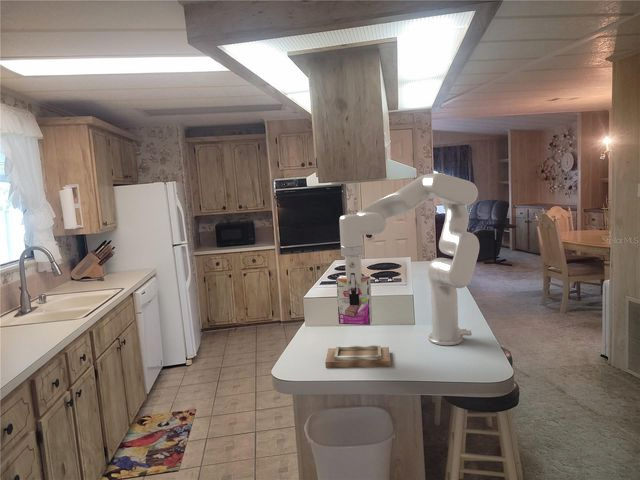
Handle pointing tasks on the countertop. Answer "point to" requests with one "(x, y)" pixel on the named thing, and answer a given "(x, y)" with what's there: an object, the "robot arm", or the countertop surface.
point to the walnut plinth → (358, 356)
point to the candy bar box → (354, 312)
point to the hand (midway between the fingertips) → (354, 302)
